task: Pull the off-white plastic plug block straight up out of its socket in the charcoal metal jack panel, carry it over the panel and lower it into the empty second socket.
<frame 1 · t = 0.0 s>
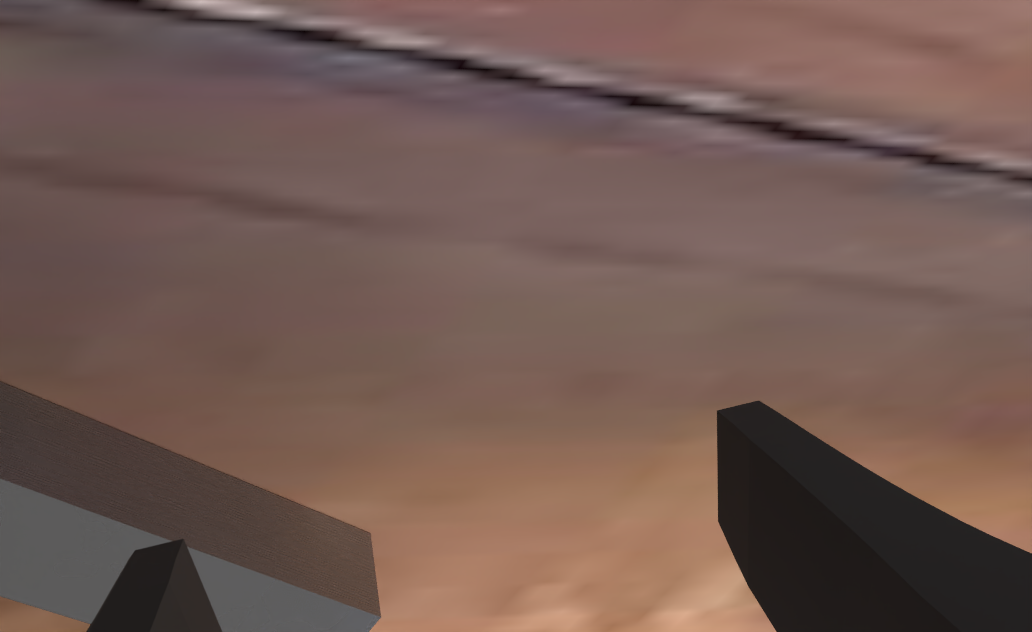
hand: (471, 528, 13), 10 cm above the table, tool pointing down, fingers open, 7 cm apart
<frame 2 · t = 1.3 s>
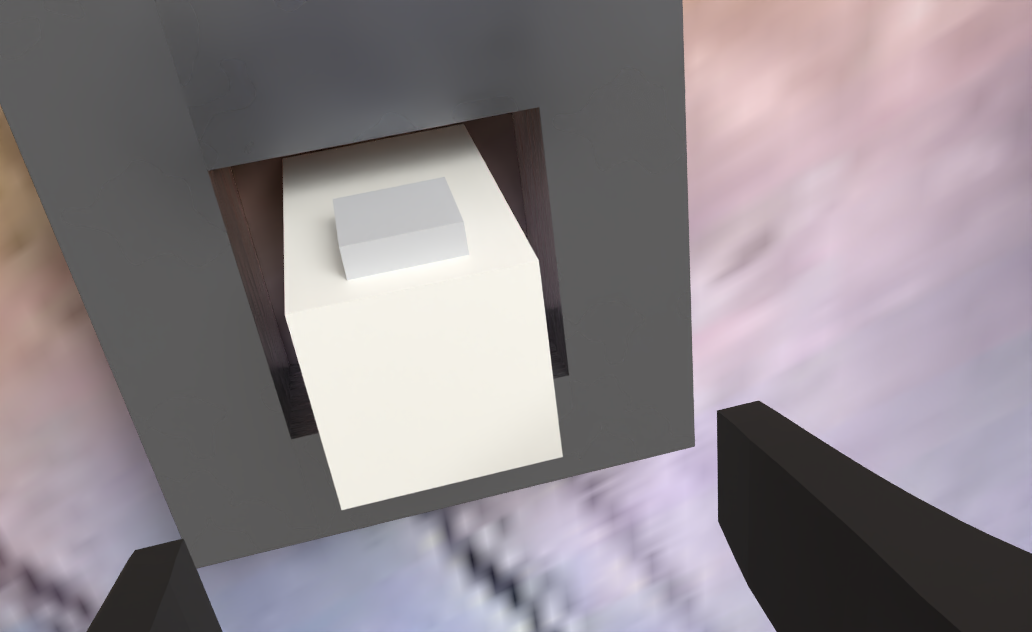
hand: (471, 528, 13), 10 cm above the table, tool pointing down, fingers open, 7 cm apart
plug: (391, 223, 21), resting in jack panel
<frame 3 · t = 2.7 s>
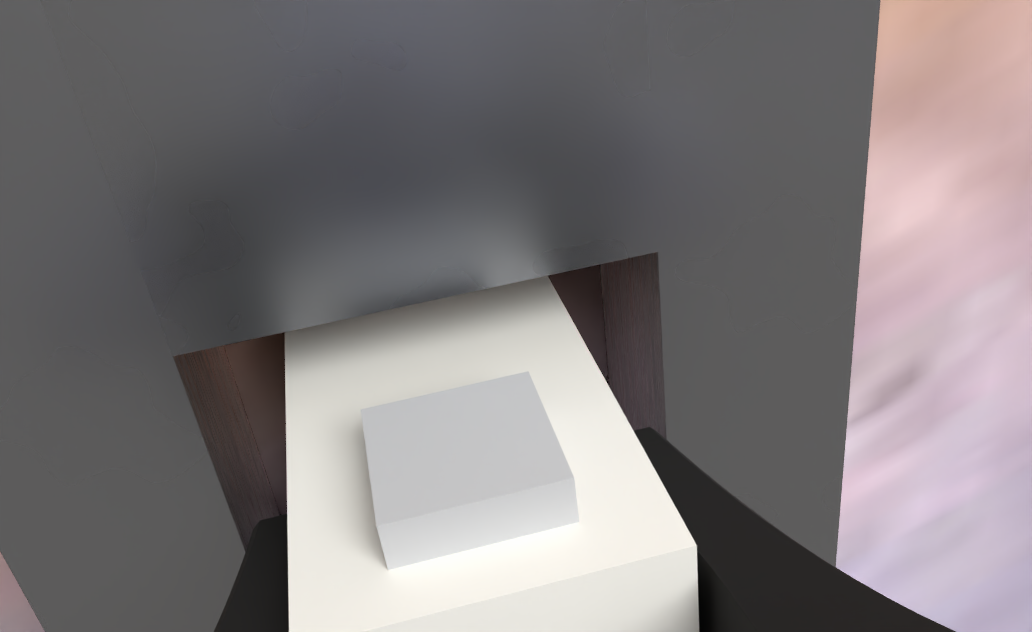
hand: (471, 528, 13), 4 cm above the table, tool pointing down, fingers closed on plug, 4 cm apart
plug: (430, 374, 16), resting in jack panel, touching gripper
jack panel: (358, 17, 13), on the table
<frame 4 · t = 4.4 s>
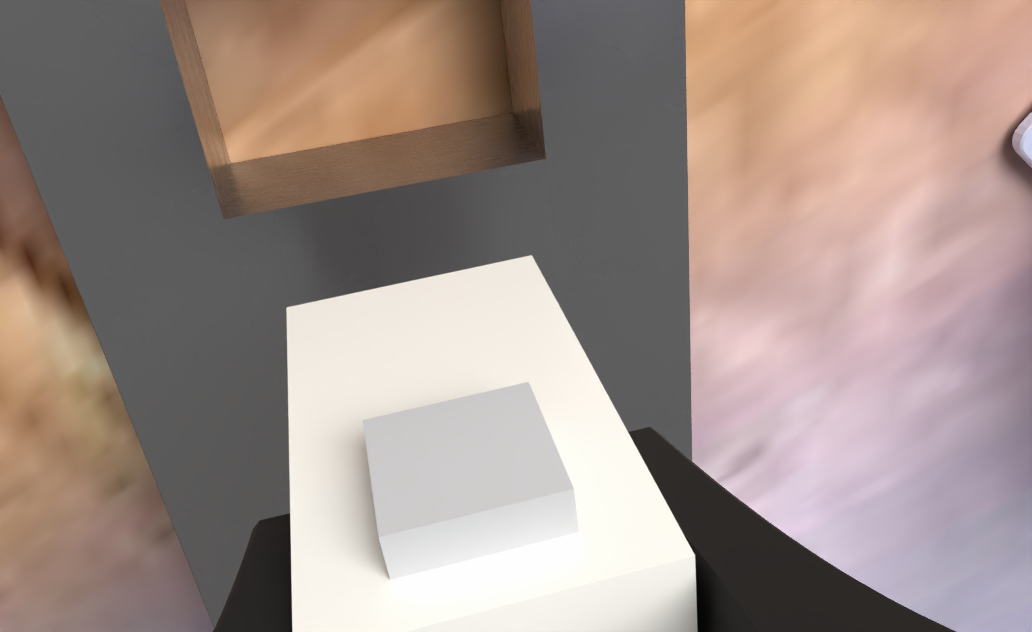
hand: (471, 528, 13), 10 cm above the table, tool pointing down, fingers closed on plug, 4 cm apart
plug: (432, 382, 16), point 6 cm above the table, touching gripper
jack panel: (397, 255, 22), on the table
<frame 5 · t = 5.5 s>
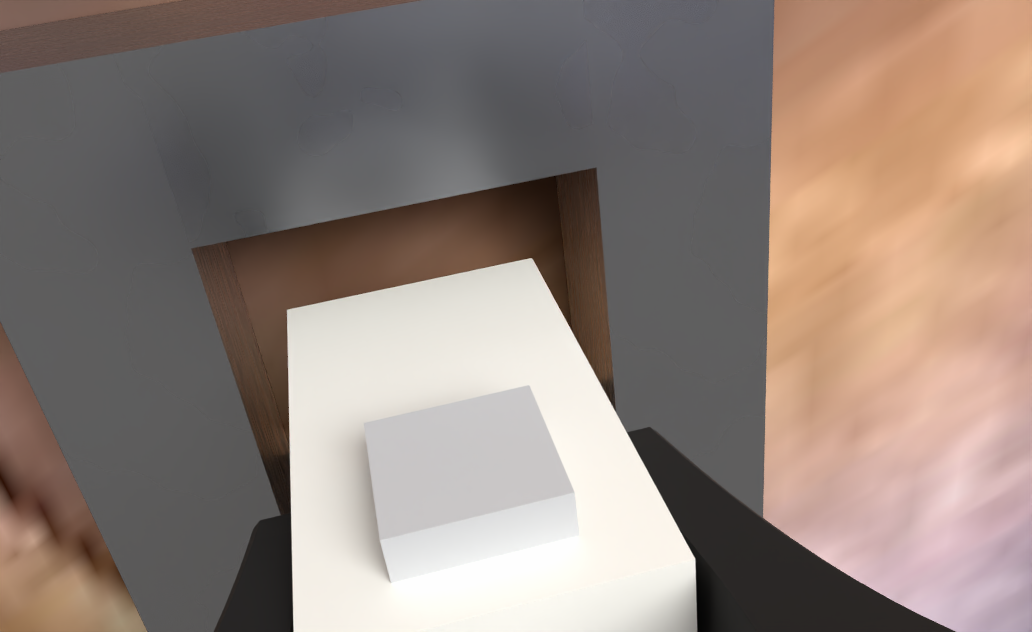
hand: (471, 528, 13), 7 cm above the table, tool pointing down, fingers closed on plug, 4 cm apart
plug: (432, 384, 16), point 3 cm above the table, touching gripper
jack panel: (458, 519, 21), on the table
when the fingers open (5 cm above the table, at t = 6.2 s): plug drops 1 cm, resting in jack panel.
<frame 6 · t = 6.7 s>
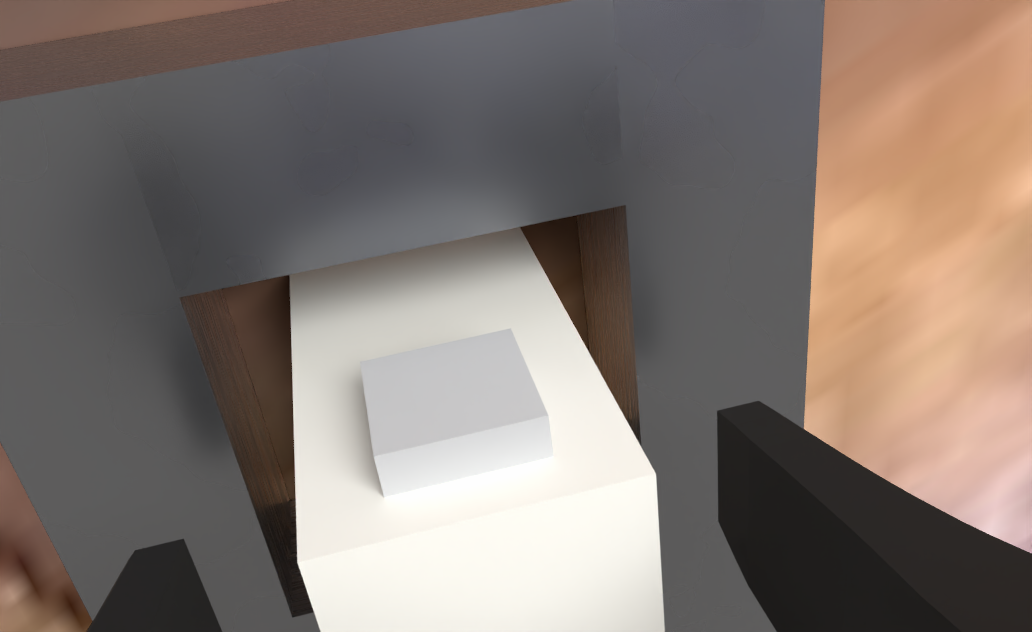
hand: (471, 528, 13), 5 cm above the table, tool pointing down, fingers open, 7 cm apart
plug: (425, 344, 17), resting in jack panel
jack panel: (468, 567, 20), on the table
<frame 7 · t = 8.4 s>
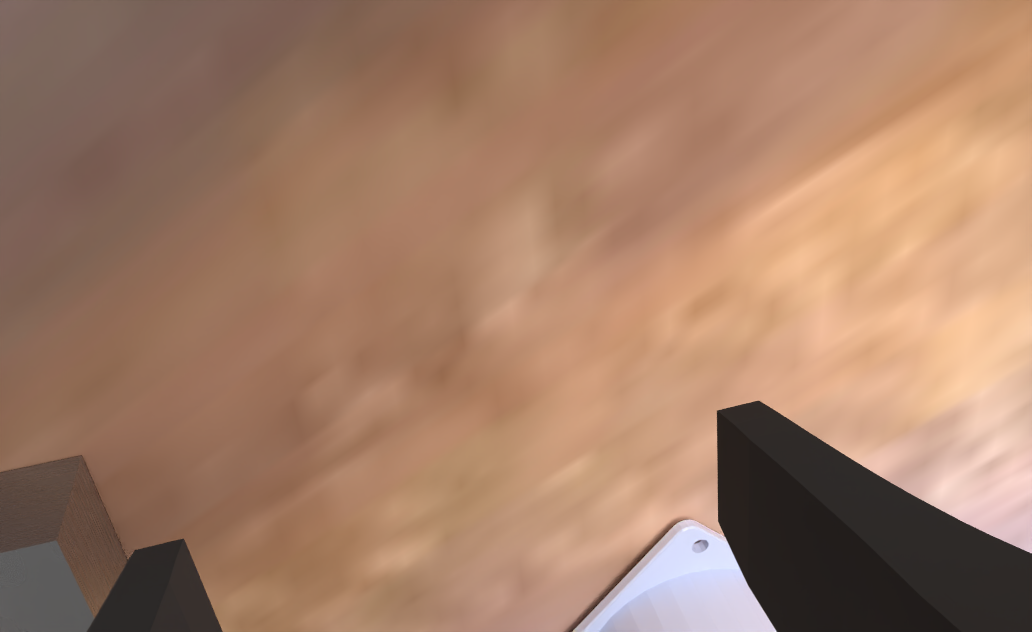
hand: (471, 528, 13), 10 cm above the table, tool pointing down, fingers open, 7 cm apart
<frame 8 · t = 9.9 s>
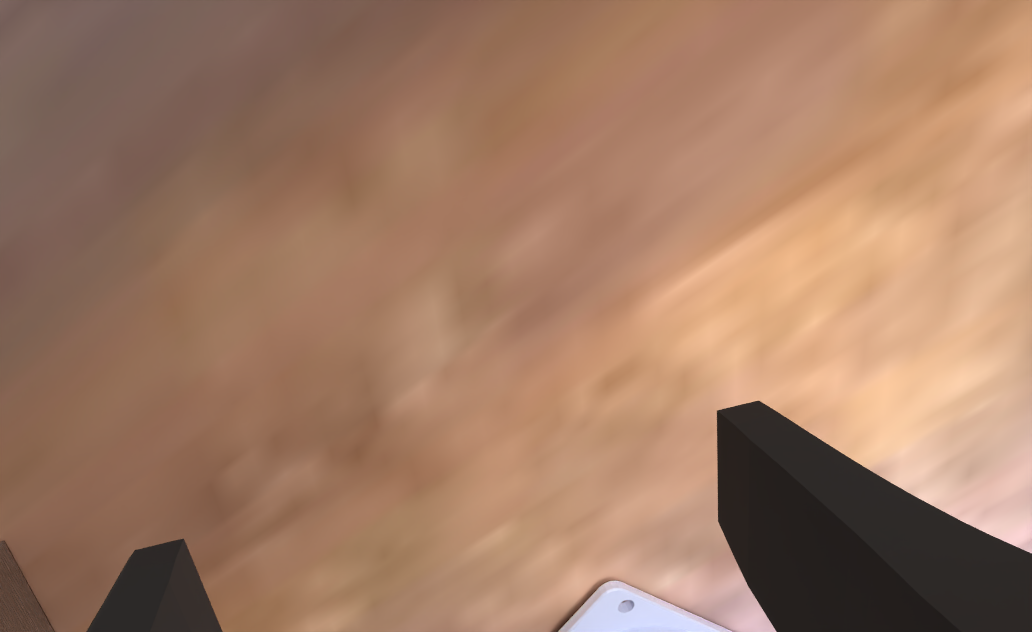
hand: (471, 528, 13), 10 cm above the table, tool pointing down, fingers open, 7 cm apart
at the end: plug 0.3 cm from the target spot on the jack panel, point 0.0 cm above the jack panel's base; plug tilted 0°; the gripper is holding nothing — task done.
